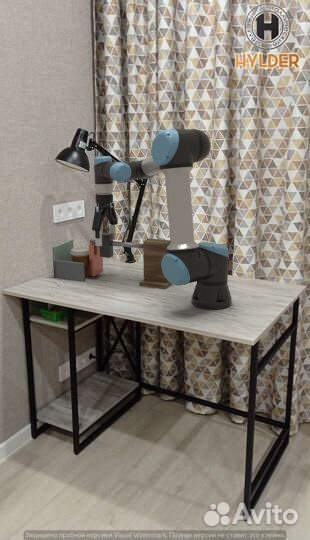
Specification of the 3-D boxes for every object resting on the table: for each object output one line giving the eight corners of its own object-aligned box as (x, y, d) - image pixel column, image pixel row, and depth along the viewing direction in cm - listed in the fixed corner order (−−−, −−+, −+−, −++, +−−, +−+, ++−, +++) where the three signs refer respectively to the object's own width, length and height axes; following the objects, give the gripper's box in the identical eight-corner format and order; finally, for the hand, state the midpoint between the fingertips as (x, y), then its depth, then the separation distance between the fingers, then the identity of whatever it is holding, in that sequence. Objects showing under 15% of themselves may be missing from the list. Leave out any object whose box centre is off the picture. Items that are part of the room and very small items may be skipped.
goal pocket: (83, 281, 231) (82, 250, 228) (54, 277, 237) (52, 247, 233) (101, 271, 246) (100, 242, 242) (72, 268, 251) (71, 239, 248)
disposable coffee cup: (94, 272, 245) (93, 247, 242) (90, 278, 236) (89, 252, 232) (73, 272, 246) (72, 246, 242) (69, 278, 236) (67, 251, 233)
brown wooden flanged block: (165, 289, 220) (166, 244, 215) (139, 286, 225) (138, 242, 219) (175, 281, 231) (175, 238, 226) (149, 278, 235) (149, 236, 230)
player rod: (148, 282, 225) (148, 239, 220) (85, 275, 235) (83, 234, 230) (155, 277, 232) (155, 235, 227) (93, 270, 243) (92, 230, 238)
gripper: (109, 190, 239) (110, 236, 244) (82, 196, 216) (84, 247, 222) (124, 190, 236) (125, 237, 242) (98, 197, 214) (100, 249, 219)
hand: (106, 242), depth 232 cm, fingers open, 13 cm apart
